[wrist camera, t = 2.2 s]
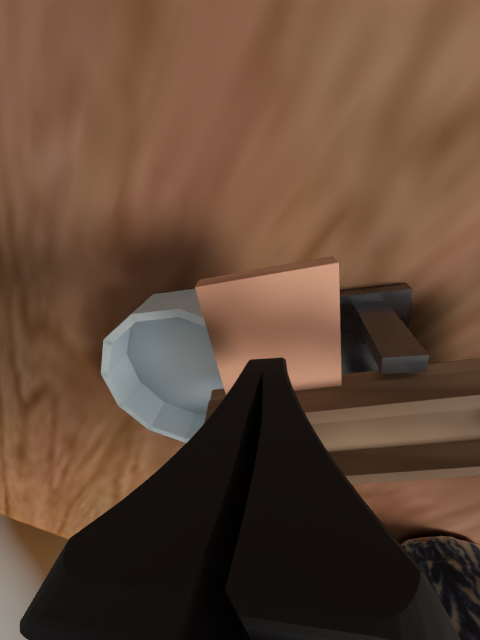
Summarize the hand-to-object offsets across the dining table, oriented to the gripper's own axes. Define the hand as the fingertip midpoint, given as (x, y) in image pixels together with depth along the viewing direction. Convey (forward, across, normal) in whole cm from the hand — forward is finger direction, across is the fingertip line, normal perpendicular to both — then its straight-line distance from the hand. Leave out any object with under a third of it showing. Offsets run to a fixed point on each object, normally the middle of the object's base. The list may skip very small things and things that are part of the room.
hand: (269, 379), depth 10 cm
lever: (+5, -6, +3) cm, 8 cm away
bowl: (+10, +8, +6) cm, 15 cm away
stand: (+10, -6, +6) cm, 14 cm away
